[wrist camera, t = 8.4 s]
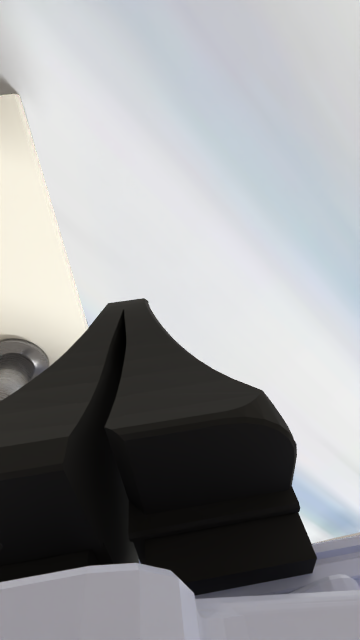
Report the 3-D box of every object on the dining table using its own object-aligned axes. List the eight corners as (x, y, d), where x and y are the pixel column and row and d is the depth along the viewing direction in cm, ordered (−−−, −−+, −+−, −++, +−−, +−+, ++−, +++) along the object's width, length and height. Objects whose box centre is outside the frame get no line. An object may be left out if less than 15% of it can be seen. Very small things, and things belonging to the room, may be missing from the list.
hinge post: (59, 372, 23) (34, 453, 18) (4, 380, 23) (-40, 465, 17) (41, 327, 21) (6, 402, 15) (-20, 336, 21) (-78, 415, 15)
